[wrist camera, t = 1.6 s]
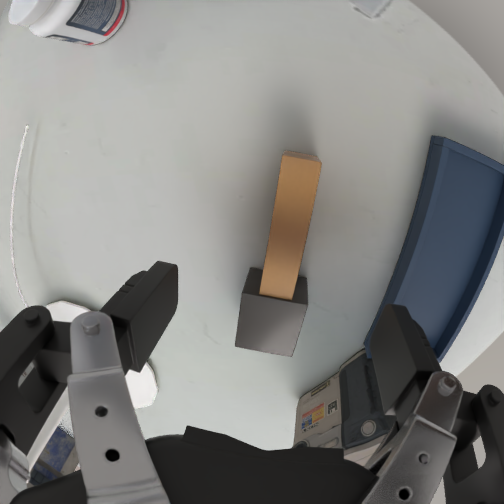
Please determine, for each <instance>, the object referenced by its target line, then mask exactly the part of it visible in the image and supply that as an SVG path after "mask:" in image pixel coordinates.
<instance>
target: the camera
mask: <svg viewBox="0 0 504 504" xmlns="http://www.w3.org/2000/svg"><path fill="white" fill-rule="evenodd" d="M396 420H397V417H396V415H384V411H383V406H382V400H381V396H380V391H379V386H378V381H377V377H376V373H375V368H374V364H373V360H372V358H367V354H366V350H362V351H360V352H359V353H357V354H356V355H355V356H353V357H352V358H351V359H350V360H348V361H347V362H345V363H344V364H343V365H342V366H341V367H340V370H339V372H338V373H337V374H336V375H334V376H332V377H331V378H330V379H328V380H327V381H325V382H324V383H322V384H321V385H319V386H318V387H316V388H315V389H313V390H312V391H310V392H308V393H307V394H305V395H304V396H302V397H301V399H300V400H299V402H298V405H297V411H296V423H295V435H294V444H293V447H292V448H300V447H322V448H344V459H347V460H350V461H353V462H355V463H357V464H359V465H361V466H364V465H365V464H366V463H367V461H368V460H369V459H370V458H371V456H372V455H373V453H374V452H375V451H376V449H377V448H378V446H379V445H380V443H381V442H382V440H383V439H384V437H385V436H386V434H387V432H388V431H389V429H390V428H391V426H392V424H393V423H394V422H395V421H396Z"/></svg>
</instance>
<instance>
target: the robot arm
mask: <svg viewBox="0 0 504 504" xmlns="http://www.w3.org/2000/svg"><path fill="white" fill-rule="evenodd" d="M177 304H178V267H177V265H176V264H171V263H166V262H162V261H157V262H156V263H155V264H154V265H153V266H152V267H151V268H150V269H149V270H148V271H141V272H139V273H137V274H135V275H133V276H131V278H130V279H129V280H128V281H127V282H126V283H125V285H123V286H122V287H121V288H120V289H119V291H117V292H116V293H115V294H114V295H113V297H112V298H111V299H110V300H109V301H108V302H107V303H106V304H105V305H104V306H103V307H102V308H101V310H100V311H99V312H98V311H89V312H85V313H82V314H80V315H78V316H77V317H76V318H74V320H73V321H72V322H62V321H53V319H52V316H51V313H50V311H49V310H48V309H47V308H46V307H43V306H31V307H28V308H26V309H24V310H22V311H21V312H20V313H19V314H18V315H17V316H16V317H15V318H14V319H13V320H12V321H11V322H10V323H9V324H8V325H7V326H6V327H5V328H4V329H3V330H2V331H1V332H0V504H430V502H431V500H432V498H433V496H434V494H435V492H436V490H437V488H438V486H439V484H440V482H441V479H442V477H443V480H444V488H445V497H446V504H504V394H503V393H502V392H501V390H500V389H498V388H497V387H495V386H493V385H484V386H483V387H482V388H481V390H480V391H479V392H478V393H477V394H474V393H470V392H466V391H463V388H462V385H461V383H460V381H459V380H458V379H457V378H456V377H455V376H454V375H452V374H451V373H449V372H446V371H442V369H441V367H440V365H439V363H438V360H437V358H436V356H435V354H434V351H433V349H432V347H430V343H429V341H428V339H427V336H426V334H425V332H424V330H423V328H422V327H421V326H420V325H419V324H418V323H417V322H416V321H415V320H413V319H412V317H411V315H410V313H409V311H408V309H407V307H406V306H403V305H396V304H390V303H388V304H386V305H385V307H384V309H383V311H382V313H381V316H380V318H379V320H378V322H377V324H376V327H375V329H374V331H373V333H372V336H371V339H370V352H371V356H372V360H373V364H374V368H375V373H376V377H377V381H378V386H379V391H380V396H381V400H382V406H383V411H384V415H396V417H397V420H396V421H395V422H394V423H393V424H392V426H391V428H390V429H389V431H388V432H387V434H386V436H385V437H384V439H383V440H382V442H381V443H380V445H379V446H378V448H377V449H376V451H375V452H374V453H373V455H372V456H371V458H370V459H369V460H368V461H367V463H366V464H365V465H364V466H361V465H359V464H357V463H355V462H353V461H350V460H347V459H344V448H322V447H300V448H291V449H282V450H271V451H267V450H262V449H259V448H257V447H254V446H252V445H249V444H247V443H244V442H242V441H239V440H237V439H235V438H232V437H230V436H228V435H225V434H220V433H216V432H212V431H207V430H203V429H199V428H195V427H192V426H188V425H187V427H186V430H185V433H184V435H179V434H176V435H163V436H157V437H153V438H149V439H147V440H145V439H144V436H143V433H142V430H141V427H140V425H139V422H138V419H137V415H136V412H135V409H134V406H133V403H132V399H131V396H130V393H129V389H128V385H127V382H126V378H125V376H126V374H127V373H128V371H129V370H132V371H135V372H138V373H140V372H141V370H142V369H143V367H144V365H145V363H146V362H147V360H148V358H149V356H150V355H151V353H152V351H153V350H154V348H155V346H156V344H157V343H158V341H159V339H160V338H161V336H162V334H163V332H164V331H165V329H166V327H167V326H168V324H169V322H170V321H171V319H172V317H173V316H174V314H175V311H176V308H177ZM31 362H32V363H33V365H34V368H33V369H32V370H31V372H30V373H29V374H28V376H27V377H26V378H25V380H24V381H23V383H22V384H21V385H20V387H19V386H18V384H19V379H20V377H21V375H22V374H23V373H24V371H25V370H26V369H27V367H28V366H29V365H30V363H31ZM66 387H68V397H69V406H70V414H71V421H72V428H73V434H74V439H75V445H76V450H77V455H78V459H79V464H80V468H81V469H80V470H78V471H75V472H72V473H70V474H67V475H65V476H62V477H59V478H56V479H54V480H51V481H48V482H45V483H42V484H39V485H36V486H33V487H30V488H27V482H29V481H30V478H31V476H30V472H29V462H28V459H27V455H28V453H29V451H30V449H31V447H32V446H33V444H34V442H35V440H36V438H37V436H38V435H39V433H40V431H41V429H42V427H43V426H44V424H45V422H46V420H47V419H48V417H49V415H50V414H51V412H52V410H53V409H54V407H55V405H56V404H57V402H58V400H59V399H60V397H61V395H62V394H63V392H64V391H65V389H66ZM480 436H481V437H482V441H483V445H484V449H485V452H486V459H485V462H484V464H483V466H482V467H480V468H479V469H478V465H477V460H476V457H475V452H474V448H473V444H472V443H473V442H474V441H475V440H476V439H478V437H480Z"/></svg>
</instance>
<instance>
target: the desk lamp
mask: <svg viewBox="0 0 504 504" xmlns="http://www.w3.org/2000/svg"><path fill="white" fill-rule="evenodd" d="M28 127H29V125H26V128H25V131H24V135H23V139H22V142H21V147H20V151H19V155H18V160H17V165H16V171H15V177H14V184H13V192H12V201H11V217H10V242H11V256H12V265H13V271H14V277H15V281H16V285H17V288H18V291H19V294H20V296H21V299H22V301H23V303H24V304H25V306H26V308H28V307H29V306H28V305H27V303H26V301H25V299H24V297H23V295H22V292H21V289H20V286H19V283H18V279H17V274H16V268H15V261H14V251H13V209H14V197H15V189H16V181H17V175H18V169H19V164H20V159H21V155H22V150H23V146H24V142H25V138H26V134H27V131H28ZM46 308H47V309H48V310H49V311H50V313H51V316H52V319H53V321H62V322H72V321H73V320H74V318H76V317H77V316H78V315H80V314H82V313H85V312H89V311H90V310H89V309H87V308H86V307H83V306H80V305H76V304H73V303H70V302H66V301H63V300H62V301H58V302H54V303H50V304H47V305H46ZM125 378H126V382H127V385H128V389H129V393H130V396H131V399H132V403H133V406H134V408H136V409H140V408H143V407H145V406H148V405H151V404H152V403H153V401H154V399H155V397H156V394H157V392H158V387H157V383H156V379H155V375H154V372H153V370H152V369H151V367H150V366H149V364H148V363H147V362H146V363H145V365H144V367H143V369H142V370H141V372H140V373H138V372H135V371H132V370H129V371H128V373H127V374H126V376H125ZM69 408H70V406H69V397H68V387H66V389H65V391H64V392H63V394H62V395H61V397H60V399H59V400H58V402H57V404H56V405H55V407H54V409H53V410H52V412H51V414H50V415H49V417H48V419H47V420H46V422H45V424H44V426H43V427H42V429H41V431H40V433H39V435H38V436H37V438H36V440H35V442H34V444H33V446H32V447H31V449H30V451H29V453H28V455H27V459H28V462H29V472H30V471H31V469H32V467H33V466H34V464H35V462H36V460H37V459H38V457H39V455H40V454H41V452H42V450H43V449H44V447H45V445H46V444H47V442H48V441H49V439H50V437H51V436H52V434H53V433H54V431H55V429H56V428H57V426H58V425H59V423H60V422H61V420H62V418H63V417H64V415H65V414H66V412H67V411H68V409H69Z"/></svg>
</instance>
